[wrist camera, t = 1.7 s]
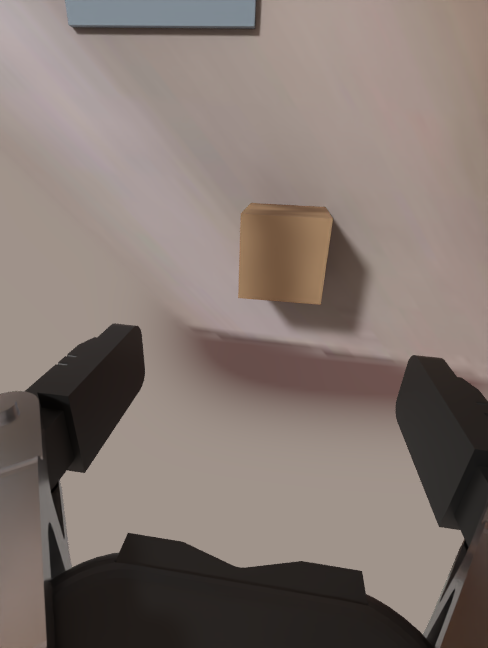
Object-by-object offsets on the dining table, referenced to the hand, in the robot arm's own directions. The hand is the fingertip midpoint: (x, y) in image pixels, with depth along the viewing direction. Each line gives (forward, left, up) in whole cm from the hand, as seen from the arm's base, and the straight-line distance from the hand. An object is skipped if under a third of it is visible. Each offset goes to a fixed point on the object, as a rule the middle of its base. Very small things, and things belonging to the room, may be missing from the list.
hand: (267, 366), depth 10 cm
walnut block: (0, 0, -18) cm, 18 cm away
